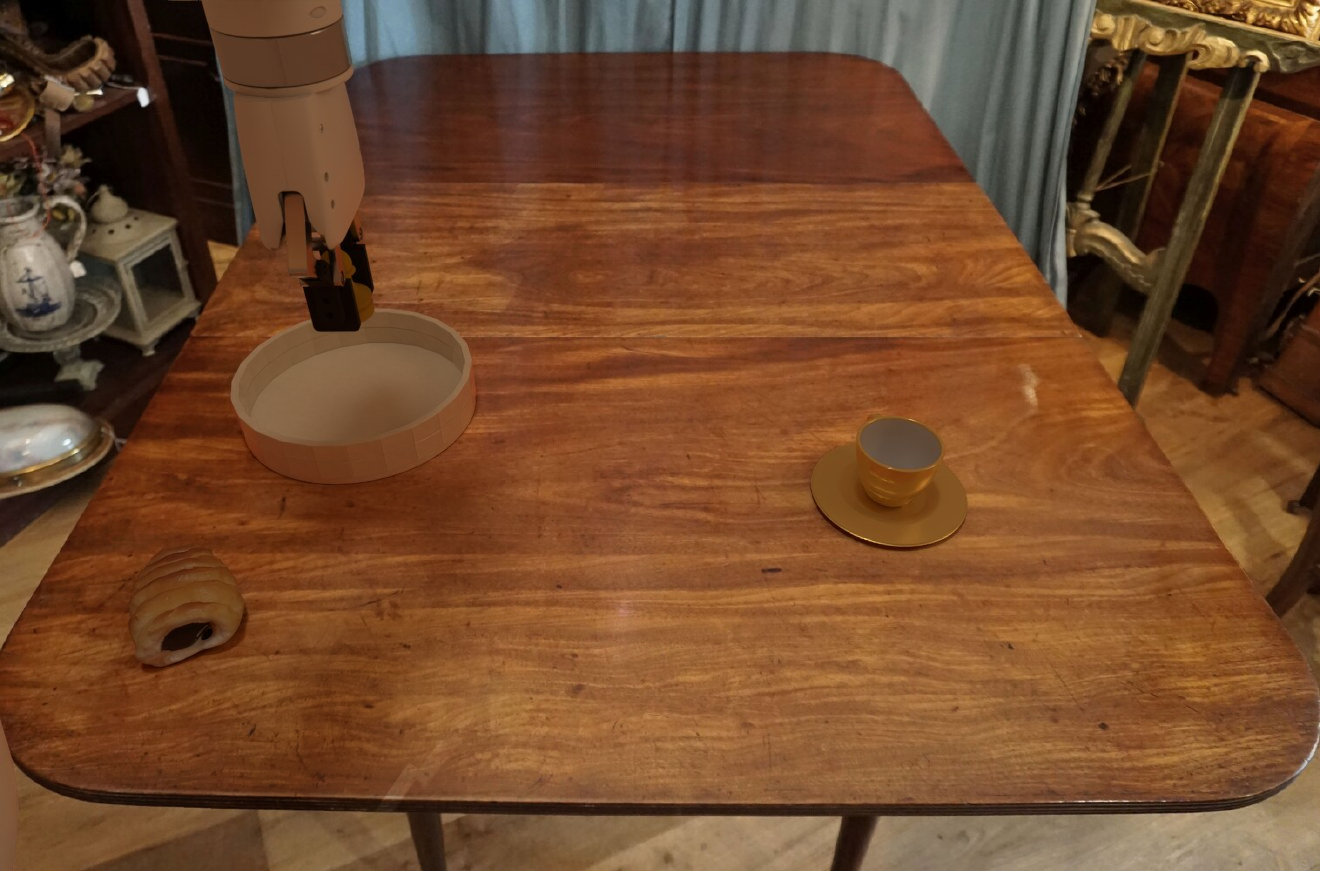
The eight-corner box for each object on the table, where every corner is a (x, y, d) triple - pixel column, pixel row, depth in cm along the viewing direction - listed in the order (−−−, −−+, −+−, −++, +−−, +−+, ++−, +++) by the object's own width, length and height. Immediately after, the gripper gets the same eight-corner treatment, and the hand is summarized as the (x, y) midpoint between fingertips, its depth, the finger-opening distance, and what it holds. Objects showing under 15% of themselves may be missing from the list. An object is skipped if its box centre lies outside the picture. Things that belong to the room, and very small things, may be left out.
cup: (994, 538, 69) (1013, 484, 66) (842, 561, 67) (853, 507, 64) (926, 436, 78) (939, 384, 75) (790, 454, 76) (797, 401, 73)
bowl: (375, 515, 70) (366, 476, 68) (192, 437, 77) (177, 398, 74) (519, 381, 83) (515, 344, 81) (352, 324, 90) (344, 288, 87)
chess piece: (316, 303, 68) (300, 241, 65) (371, 293, 70) (358, 233, 66) (321, 331, 66) (305, 268, 62) (378, 321, 67) (365, 259, 64)
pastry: (130, 578, 65) (111, 540, 63) (232, 547, 68) (218, 509, 65) (142, 679, 59) (121, 641, 56) (255, 640, 61) (239, 602, 59)
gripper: (260, 9, 62) (320, 254, 74) (170, 102, 49) (260, 381, 61) (374, 9, 62) (416, 253, 74) (314, 103, 50) (376, 379, 61)
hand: (345, 308), depth 67 cm, fingers closed on chess piece, 4 cm apart
